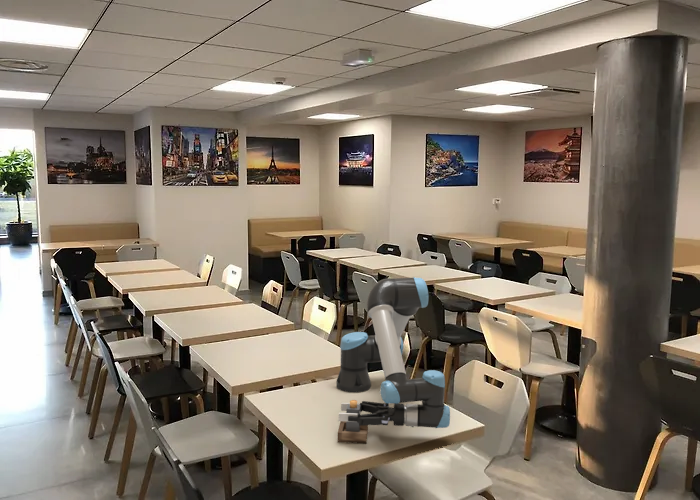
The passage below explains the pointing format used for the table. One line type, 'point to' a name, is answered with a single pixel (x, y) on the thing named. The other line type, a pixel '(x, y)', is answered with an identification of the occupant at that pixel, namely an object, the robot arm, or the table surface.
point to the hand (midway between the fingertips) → (340, 411)
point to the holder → (352, 434)
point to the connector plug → (353, 409)
